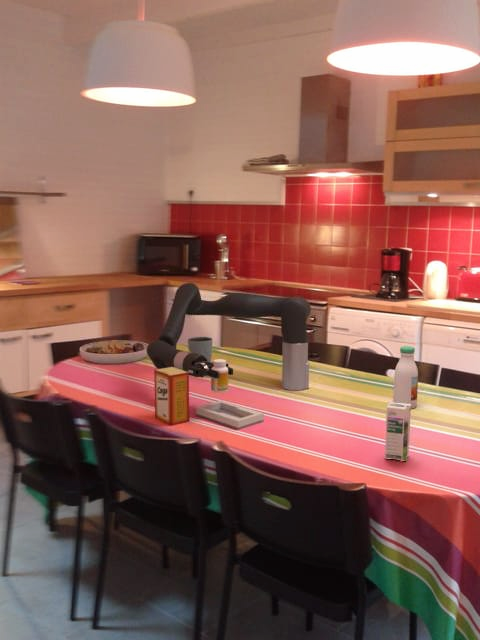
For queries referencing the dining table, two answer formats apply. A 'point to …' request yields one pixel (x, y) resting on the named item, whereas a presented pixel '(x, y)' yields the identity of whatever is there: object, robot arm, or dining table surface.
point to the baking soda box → (171, 395)
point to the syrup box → (397, 431)
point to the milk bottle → (406, 378)
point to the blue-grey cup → (201, 346)
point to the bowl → (114, 351)
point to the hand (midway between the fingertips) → (225, 373)
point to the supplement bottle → (220, 376)
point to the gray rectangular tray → (229, 414)
